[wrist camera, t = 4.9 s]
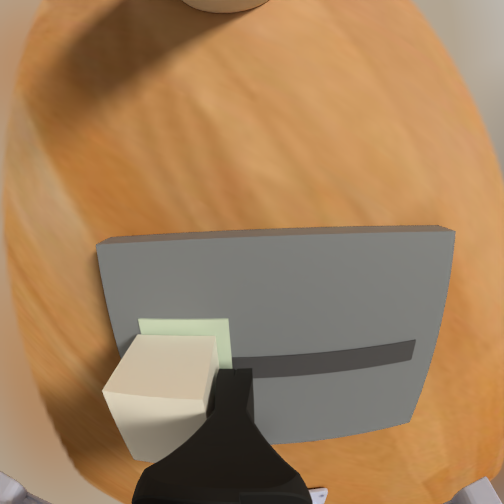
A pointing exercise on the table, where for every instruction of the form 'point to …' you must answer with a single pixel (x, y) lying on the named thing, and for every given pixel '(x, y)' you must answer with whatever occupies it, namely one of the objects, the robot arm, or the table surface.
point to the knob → (162, 392)
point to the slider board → (295, 315)
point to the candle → (224, 5)
